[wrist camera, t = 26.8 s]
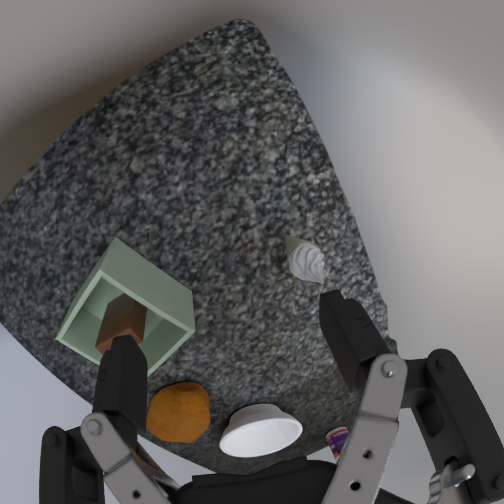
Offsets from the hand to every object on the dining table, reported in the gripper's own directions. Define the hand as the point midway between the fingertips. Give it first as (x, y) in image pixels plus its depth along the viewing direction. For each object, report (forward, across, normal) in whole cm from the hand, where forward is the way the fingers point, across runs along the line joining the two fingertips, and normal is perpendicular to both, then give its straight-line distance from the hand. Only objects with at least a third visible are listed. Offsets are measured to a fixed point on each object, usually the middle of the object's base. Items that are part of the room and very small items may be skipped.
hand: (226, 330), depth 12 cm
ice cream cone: (+32, -10, +16) cm, 37 cm away
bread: (+26, +20, +50) cm, 60 cm away
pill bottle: (+23, -21, +94) cm, 99 cm away
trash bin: (+29, +18, +20) cm, 40 cm away
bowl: (+25, +3, +65) cm, 70 cm away
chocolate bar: (+29, +18, +20) cm, 39 cm away
